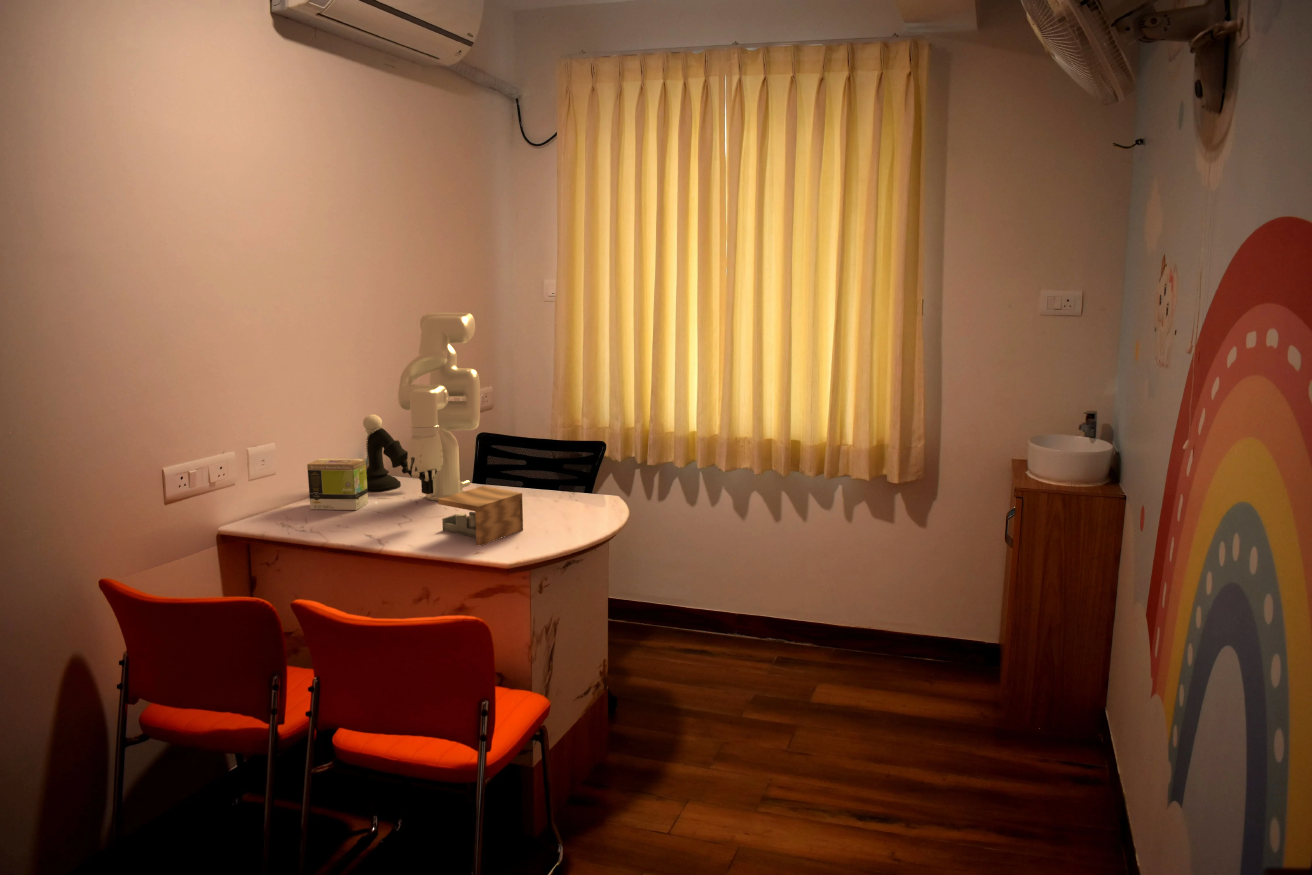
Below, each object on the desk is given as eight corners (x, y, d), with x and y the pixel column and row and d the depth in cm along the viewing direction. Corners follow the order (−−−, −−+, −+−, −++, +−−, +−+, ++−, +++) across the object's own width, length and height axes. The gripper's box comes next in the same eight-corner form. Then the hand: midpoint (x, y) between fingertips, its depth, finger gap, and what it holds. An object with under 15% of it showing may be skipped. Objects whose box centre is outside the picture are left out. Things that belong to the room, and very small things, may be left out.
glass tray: (457, 525, 267) (457, 508, 266) (496, 533, 259) (495, 516, 258) (442, 530, 262) (442, 513, 261) (481, 538, 254) (481, 521, 253)
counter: (483, 522, 270) (482, 486, 268) (523, 530, 262) (522, 492, 260) (439, 537, 255) (438, 498, 253) (479, 545, 247) (478, 506, 245)
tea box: (369, 503, 292) (366, 457, 289) (355, 511, 282) (353, 464, 279) (323, 501, 293) (321, 456, 290) (309, 509, 283) (306, 463, 280)
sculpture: (374, 480, 323) (370, 410, 318) (430, 486, 314) (427, 414, 309) (344, 489, 309) (340, 416, 304) (402, 496, 300) (399, 421, 295)
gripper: (434, 426, 272) (436, 485, 275) (395, 434, 259) (399, 496, 263) (452, 428, 268) (455, 489, 271) (414, 437, 255) (417, 500, 259)
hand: (427, 492), depth 267 cm, fingers closed
